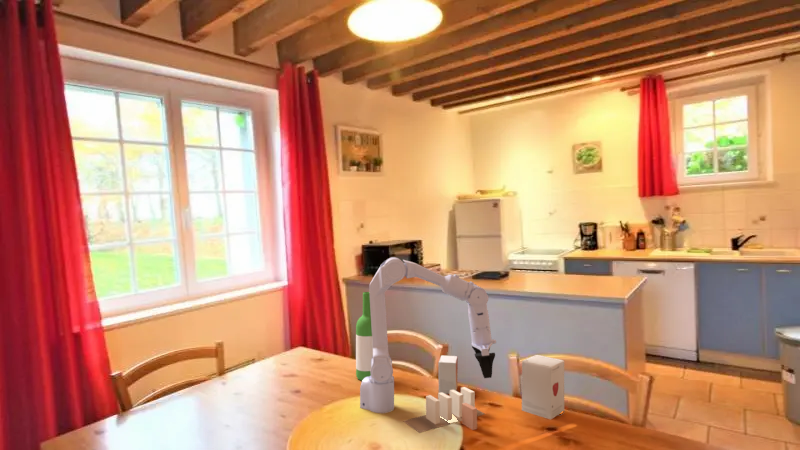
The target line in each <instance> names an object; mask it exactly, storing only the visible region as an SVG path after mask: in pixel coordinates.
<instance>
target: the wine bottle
mask: <svg viewBox="0 0 800 450" xmlns="http://www.w3.org/2000/svg"><path fill="white" fill-rule="evenodd" d="M372 357H373V343H372V326H371V310H370V293H369V291H364V292H362V315H361V316H360V317H358V319H357V321H356V325H355V376H356V379H358V380H359V381H361V382H362V381H363V379H364V378H365V377H369V376H371V372H370V371H371V359H372Z"/></svg>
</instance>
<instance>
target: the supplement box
mask: <svg viewBox="0 0 800 450" xmlns="http://www.w3.org/2000/svg"><path fill="white" fill-rule="evenodd" d="M521 411H522V412H525V413H529V414H531V415H534V416H538V417H541V418H544V419H548V420H552V419H554V418H555V417H557V416H560V415H559V414H560V413H561V412H562V411H564V412H565V360H563V359H559V358H555V357H549V356H545V355H540V354H535V355H533V356H532V355H531V356H530V357H528V358H526V359H523V360H522V361H521Z"/></svg>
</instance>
